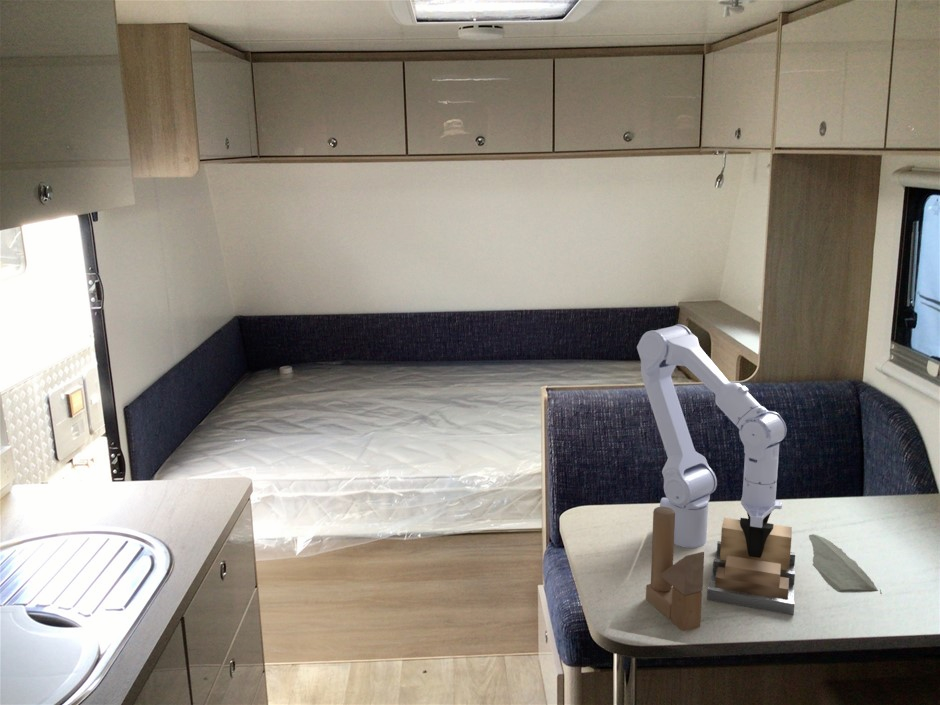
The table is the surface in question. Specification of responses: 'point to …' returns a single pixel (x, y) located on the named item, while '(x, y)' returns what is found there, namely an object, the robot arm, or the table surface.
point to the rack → (753, 599)
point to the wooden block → (674, 575)
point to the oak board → (773, 549)
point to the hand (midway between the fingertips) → (755, 547)
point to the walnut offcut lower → (752, 586)
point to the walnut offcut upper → (752, 571)
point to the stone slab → (838, 567)
